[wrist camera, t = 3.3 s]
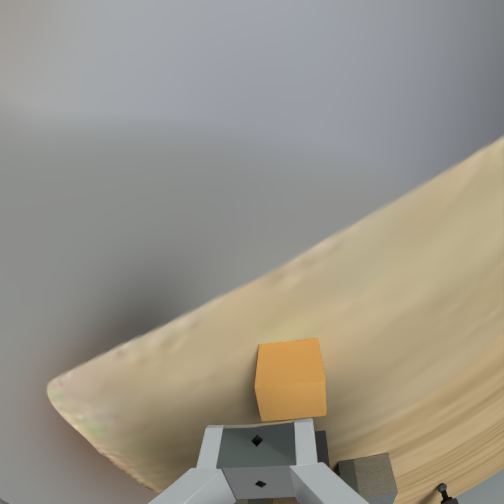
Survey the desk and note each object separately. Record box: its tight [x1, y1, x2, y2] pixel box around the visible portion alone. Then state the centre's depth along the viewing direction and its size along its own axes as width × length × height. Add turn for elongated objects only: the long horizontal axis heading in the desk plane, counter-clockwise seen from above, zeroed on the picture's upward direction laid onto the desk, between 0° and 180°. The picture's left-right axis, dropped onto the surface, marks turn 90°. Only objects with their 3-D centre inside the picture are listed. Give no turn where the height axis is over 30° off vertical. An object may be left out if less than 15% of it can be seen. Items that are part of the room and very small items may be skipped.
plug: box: [254, 338, 329, 467], centre depth 21 cm, size 4×14×4 cm, turn 9°
